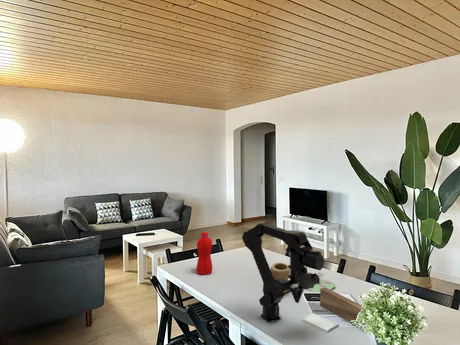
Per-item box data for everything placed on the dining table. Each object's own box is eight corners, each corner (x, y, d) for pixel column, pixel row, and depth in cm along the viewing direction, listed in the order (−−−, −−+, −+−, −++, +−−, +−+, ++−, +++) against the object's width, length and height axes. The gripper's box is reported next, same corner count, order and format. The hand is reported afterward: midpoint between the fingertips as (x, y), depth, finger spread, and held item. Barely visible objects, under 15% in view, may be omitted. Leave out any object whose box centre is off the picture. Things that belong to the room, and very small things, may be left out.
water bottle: (213, 269, 193) (213, 230, 193) (210, 275, 183) (210, 234, 182) (199, 269, 194) (199, 230, 194) (195, 275, 183) (195, 233, 183)
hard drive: (338, 323, 124) (313, 312, 134) (327, 330, 119) (301, 318, 129) (338, 327, 124) (313, 316, 134) (327, 334, 119) (301, 321, 129)
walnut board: (366, 331, 120) (366, 311, 120) (320, 305, 143) (320, 288, 143) (371, 330, 121) (371, 310, 121) (324, 303, 145) (325, 287, 145)
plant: (284, 281, 175) (284, 266, 175) (306, 274, 187) (307, 259, 187) (320, 296, 155) (321, 278, 155) (343, 286, 168) (343, 270, 167)
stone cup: (279, 299, 149) (279, 269, 149) (261, 292, 159) (262, 263, 158) (298, 291, 159) (298, 263, 159) (281, 285, 168) (281, 258, 168)
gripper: (290, 273, 110) (290, 316, 110) (329, 266, 118) (329, 306, 118) (273, 264, 120) (273, 304, 120) (310, 258, 128) (310, 295, 128)
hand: (297, 302), depth 121 cm, fingers closed
